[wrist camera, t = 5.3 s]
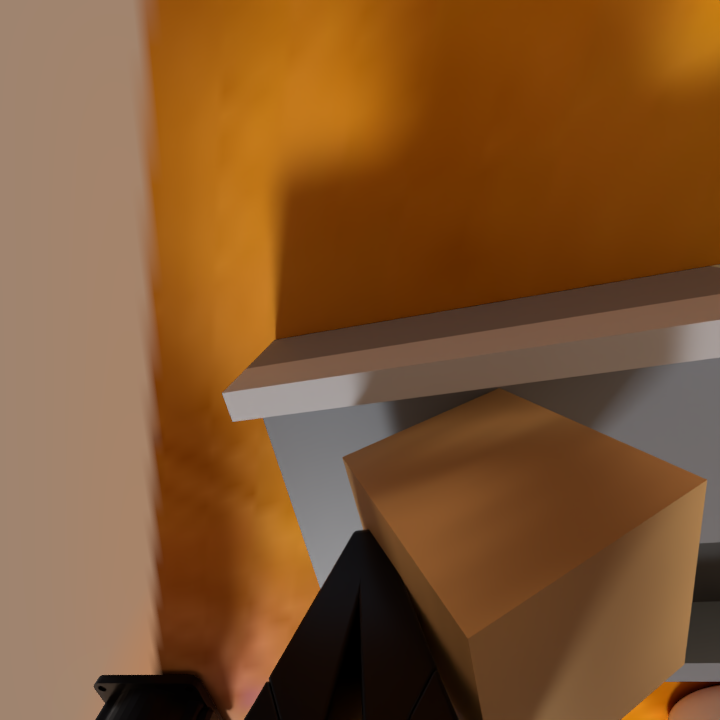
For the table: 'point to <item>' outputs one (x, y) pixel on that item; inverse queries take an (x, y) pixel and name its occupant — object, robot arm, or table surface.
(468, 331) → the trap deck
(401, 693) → the robot arm
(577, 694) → the ochre block
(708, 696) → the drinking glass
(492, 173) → the table surface
